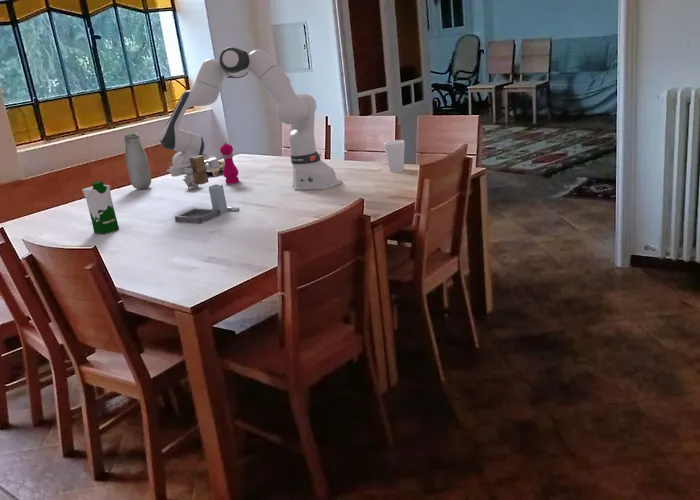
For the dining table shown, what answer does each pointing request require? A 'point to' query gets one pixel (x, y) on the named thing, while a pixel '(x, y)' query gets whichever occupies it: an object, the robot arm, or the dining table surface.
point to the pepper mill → (229, 164)
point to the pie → (217, 169)
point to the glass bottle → (136, 162)
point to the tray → (197, 215)
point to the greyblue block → (218, 198)
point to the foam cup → (395, 155)
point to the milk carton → (101, 208)
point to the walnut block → (199, 170)
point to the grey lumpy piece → (190, 181)
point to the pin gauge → (232, 209)
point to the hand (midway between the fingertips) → (199, 169)
